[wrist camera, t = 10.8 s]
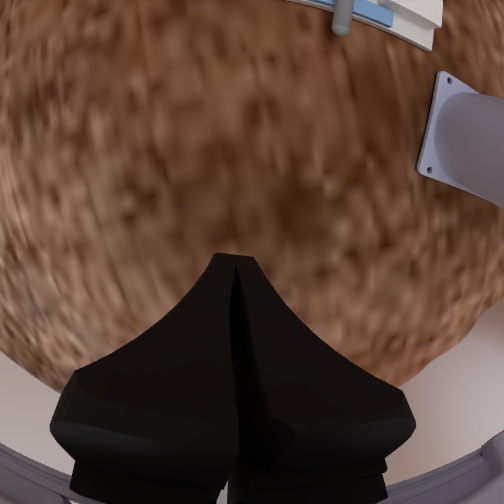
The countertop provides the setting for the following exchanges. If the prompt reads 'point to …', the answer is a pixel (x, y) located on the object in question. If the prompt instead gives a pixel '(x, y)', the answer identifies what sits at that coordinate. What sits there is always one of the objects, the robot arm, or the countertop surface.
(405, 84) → the countertop surface
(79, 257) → the countertop surface
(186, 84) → the countertop surface
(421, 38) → the white slotted board
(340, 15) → the dark grey rounded piece
